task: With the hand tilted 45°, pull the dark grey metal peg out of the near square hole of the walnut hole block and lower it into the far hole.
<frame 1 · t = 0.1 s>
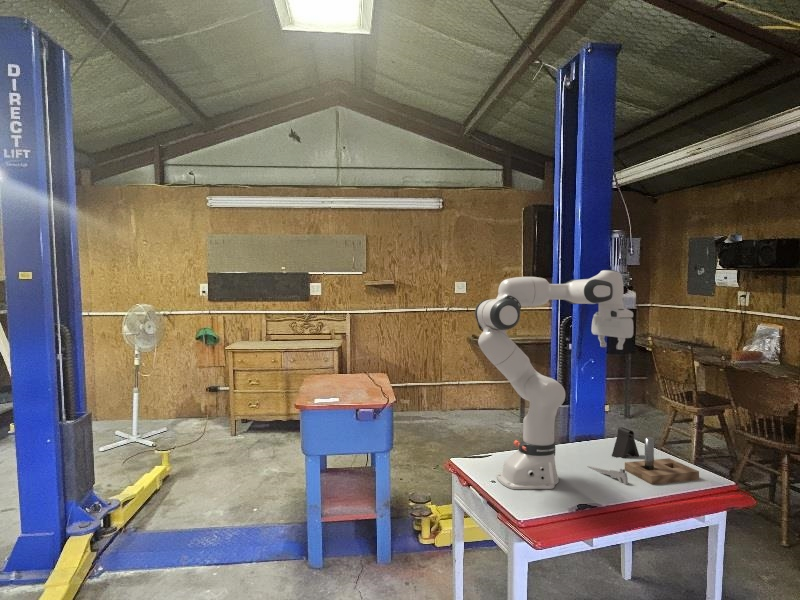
hand: (611, 348, 181), 48 cm above the table, tool pointing down, fingers open, 8 cm apart
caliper: (605, 478, 176), on the table
hole block: (660, 477, 175), on the table
peg: (649, 475, 174), point 1 cm above the table, touching hole block
black a-frame stand: (625, 457, 197), on the table
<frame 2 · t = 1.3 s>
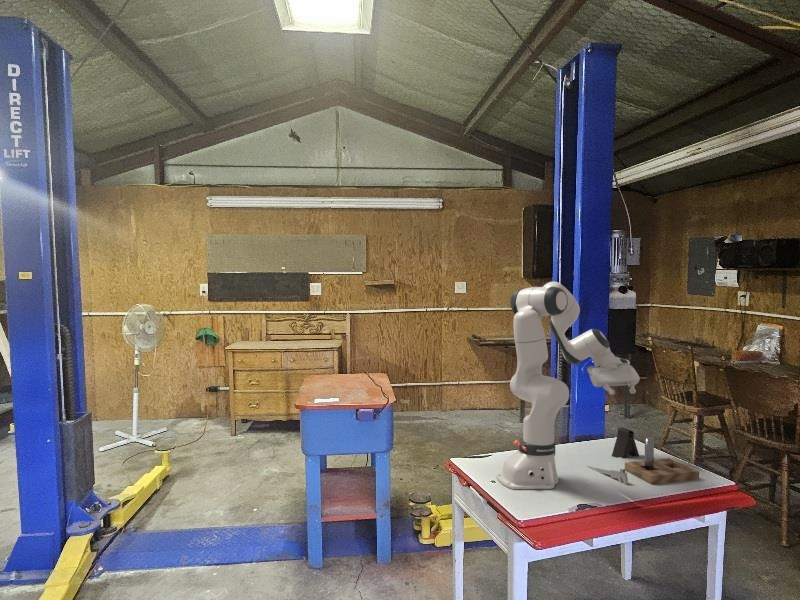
hand: (623, 393, 188), 29 cm above the table, tool tilted 45°, fingers open, 8 cm apart
nothing on the table moved.
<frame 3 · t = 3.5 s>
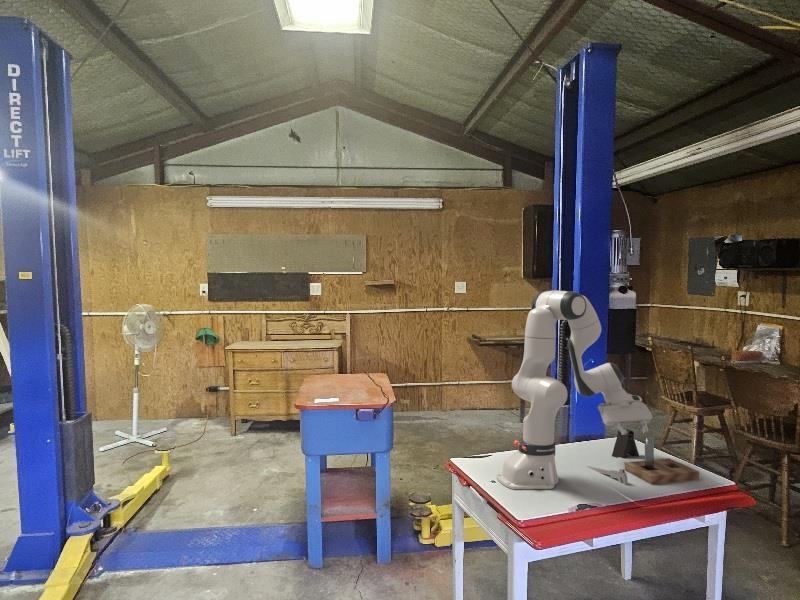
hand: (635, 433, 181), 15 cm above the table, tool tilted 45°, fingers open, 8 cm apart
nothing on the table moved.
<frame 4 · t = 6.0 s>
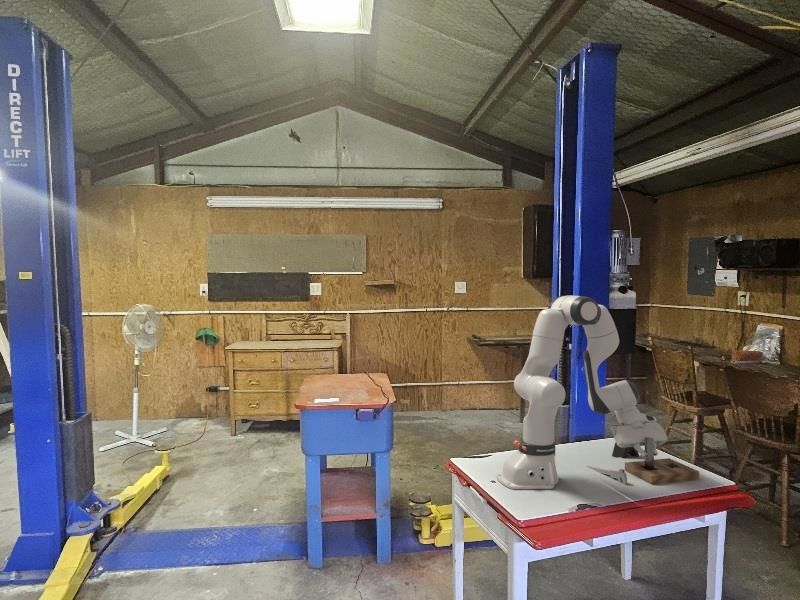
hand: (650, 455, 174), 9 cm above the table, tool tilted 45°, fingers closed on peg, 3 cm apart
peg: (649, 475, 174), point 1 cm above the table, touching gripper, hole block
everything else where it was.
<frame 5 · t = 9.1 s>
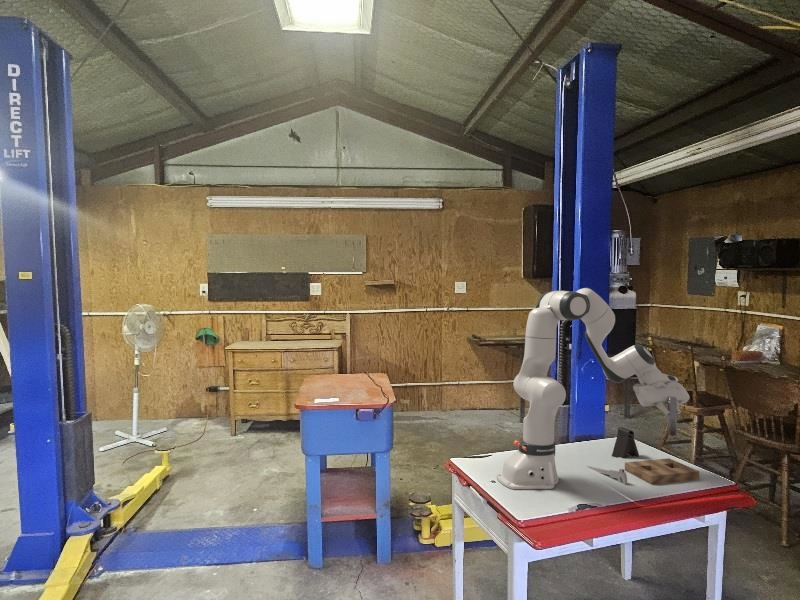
hand: (673, 413, 176), 24 cm above the table, tool tilted 45°, fingers closed on peg, 3 cm apart
peg: (672, 434, 176), point 16 cm above the table, touching gripper
everything else where it was.
when the fingers open (10 cm above the table, at t = 12.5 s): peg drops 1 cm, resting on hole block.
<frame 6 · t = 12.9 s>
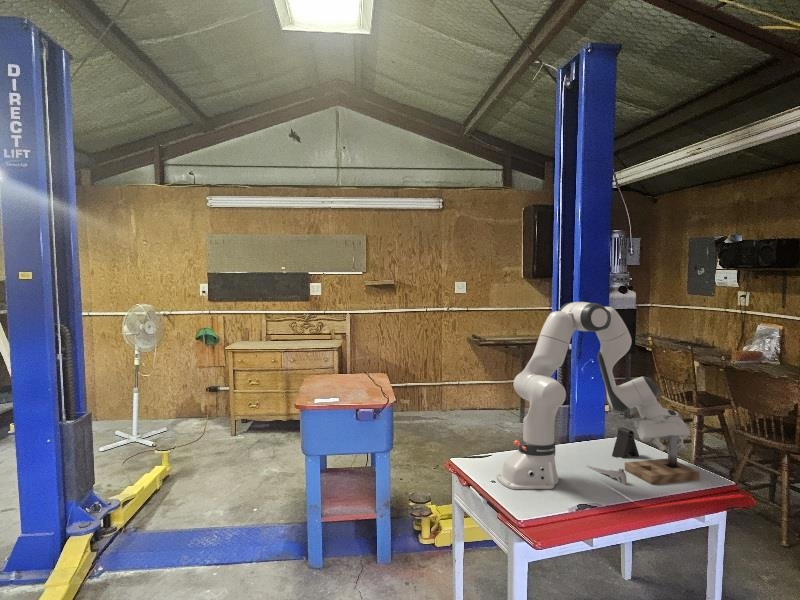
hand: (673, 449, 176), 10 cm above the table, tool tilted 45°, fingers open, 7 cm apart
peg: (672, 473, 176), point 1 cm above the table, touching hole block
everything else where it was.
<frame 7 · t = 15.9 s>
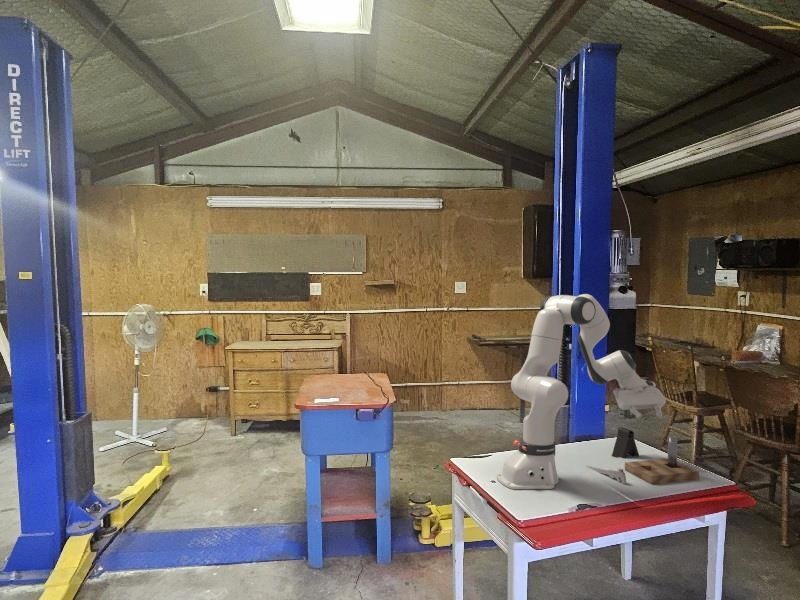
hand: (650, 416, 187), 20 cm above the table, tool tilted 45°, fingers open, 8 cm apart
nothing on the table moved.
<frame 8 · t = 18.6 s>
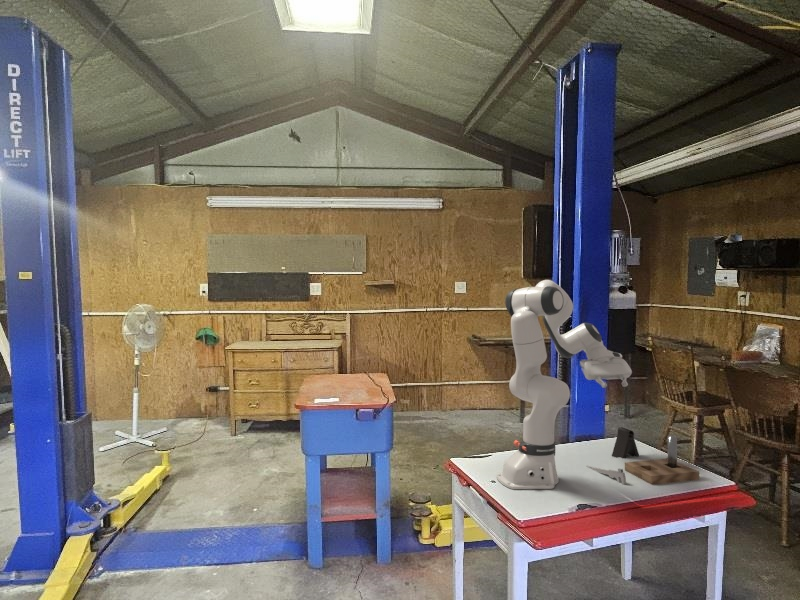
hand: (615, 386, 190), 31 cm above the table, tool tilted 45°, fingers open, 8 cm apart
nothing on the table moved.
at the end: peg 0.0 cm from the target spot on the hole block, point 1.0 cm above the hole block's base; peg tilted 0°; the gripper is holding nothing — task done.
